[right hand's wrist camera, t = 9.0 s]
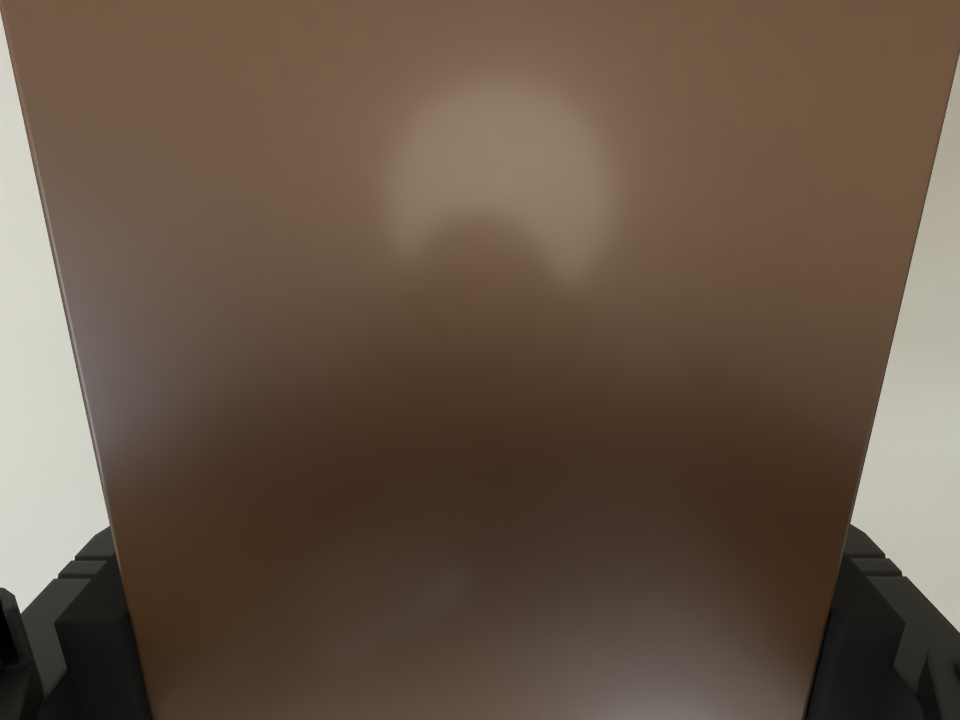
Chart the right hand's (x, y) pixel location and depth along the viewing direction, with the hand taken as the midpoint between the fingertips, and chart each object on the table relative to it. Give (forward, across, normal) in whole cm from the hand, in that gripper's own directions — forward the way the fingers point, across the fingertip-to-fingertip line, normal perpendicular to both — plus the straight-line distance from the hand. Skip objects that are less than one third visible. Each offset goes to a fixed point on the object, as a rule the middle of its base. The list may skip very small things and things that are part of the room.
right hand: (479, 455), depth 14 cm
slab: (+1, 0, -21) cm, 21 cm away
